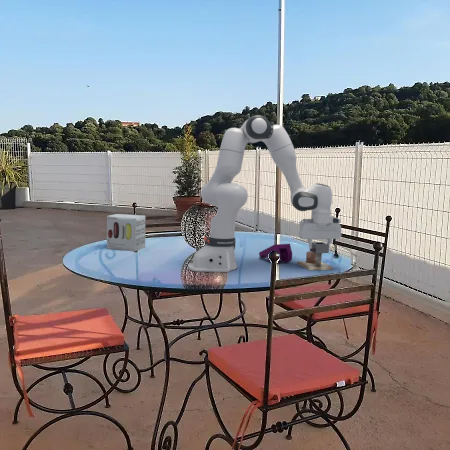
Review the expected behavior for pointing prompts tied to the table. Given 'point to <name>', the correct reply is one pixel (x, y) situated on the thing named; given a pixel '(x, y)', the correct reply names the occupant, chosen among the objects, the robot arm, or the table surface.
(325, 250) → the collar
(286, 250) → the mounting bracket
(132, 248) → the supplement box
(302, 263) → the post board
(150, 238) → the table surface
